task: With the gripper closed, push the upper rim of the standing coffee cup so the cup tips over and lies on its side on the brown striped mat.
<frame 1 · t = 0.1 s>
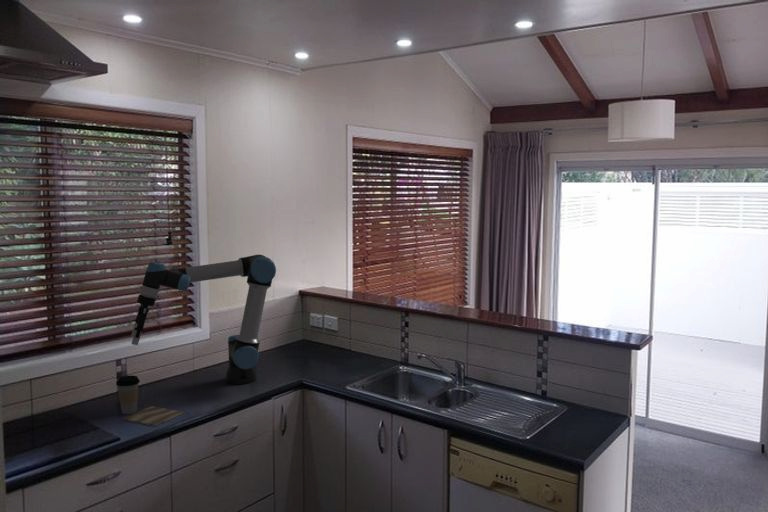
hand: (134, 340, 282), 28 cm above the worktop, tool tilted 20°, fingers open, 13 cm apart
coffee cup: (129, 412, 272), on the worktop
brown striped mat: (154, 416, 266), on the worktop
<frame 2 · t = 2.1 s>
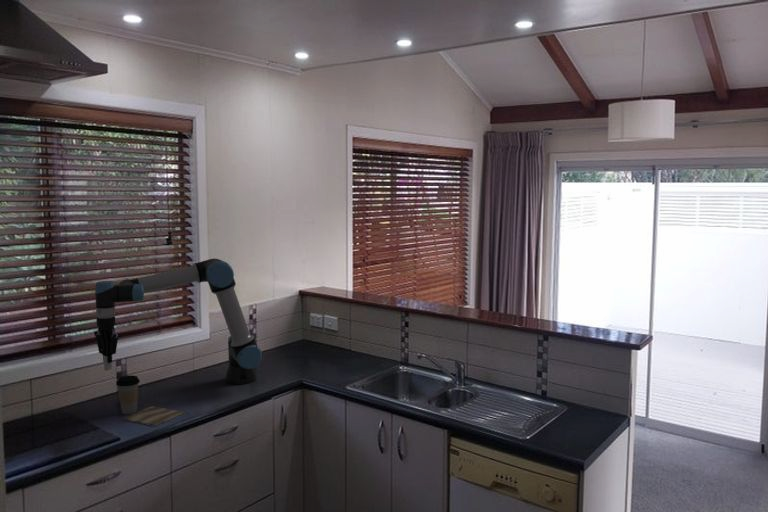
hand: (108, 369, 274), 17 cm above the worktop, tool pointing down, fingers closed
nothing on the worktop moved.
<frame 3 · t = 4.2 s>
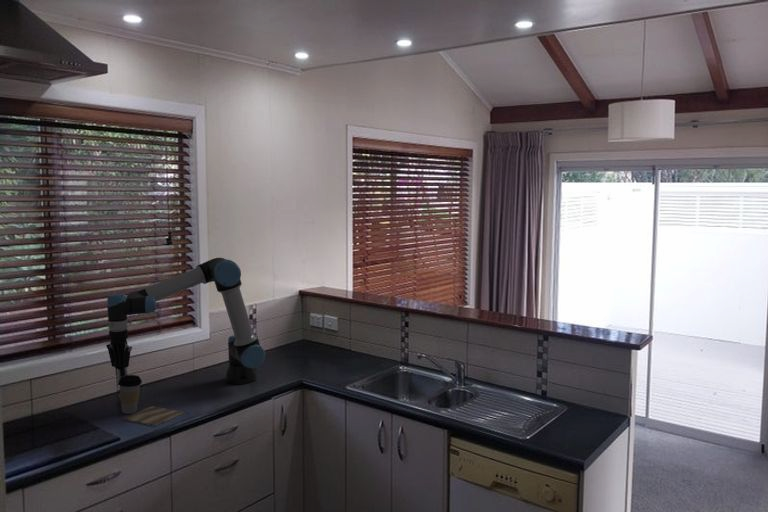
hand: (120, 382, 272), 12 cm above the worktop, tool pointing down, fingers closed
coffee cup: (129, 411, 272), on the worktop, touching gripper
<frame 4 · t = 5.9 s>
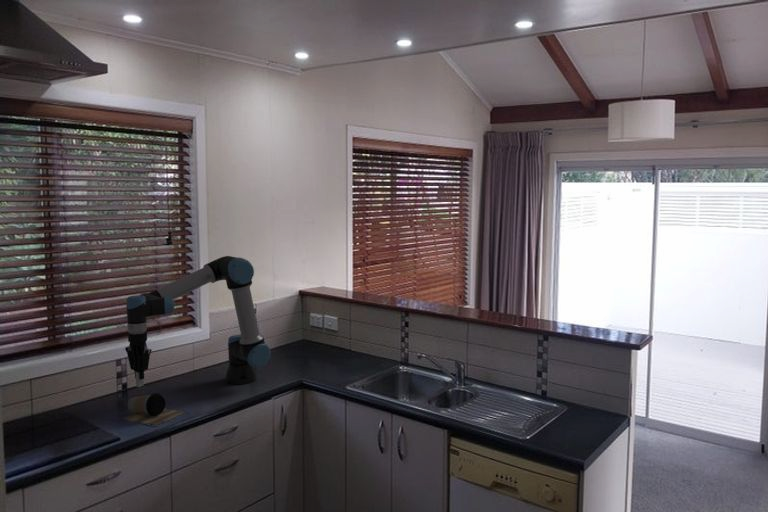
hand: (140, 386, 268), 12 cm above the worktop, tool pointing down, fingers closed
coffee cup: (132, 404, 270), point 4 cm above the worktop, touching brown striped mat
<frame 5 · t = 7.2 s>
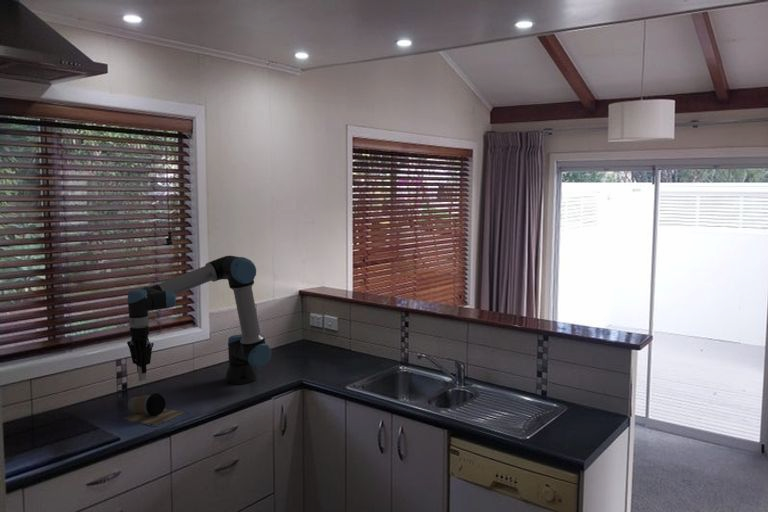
hand: (142, 380, 267), 15 cm above the worktop, tool pointing down, fingers closed
nothing on the worktop moved.
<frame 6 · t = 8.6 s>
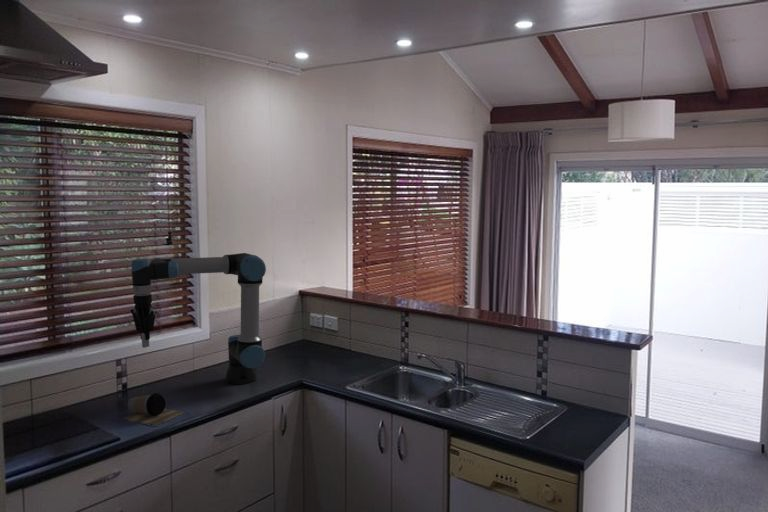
hand: (145, 346, 277), 27 cm above the worktop, tool pointing down, fingers closed
nothing on the worktop moved.
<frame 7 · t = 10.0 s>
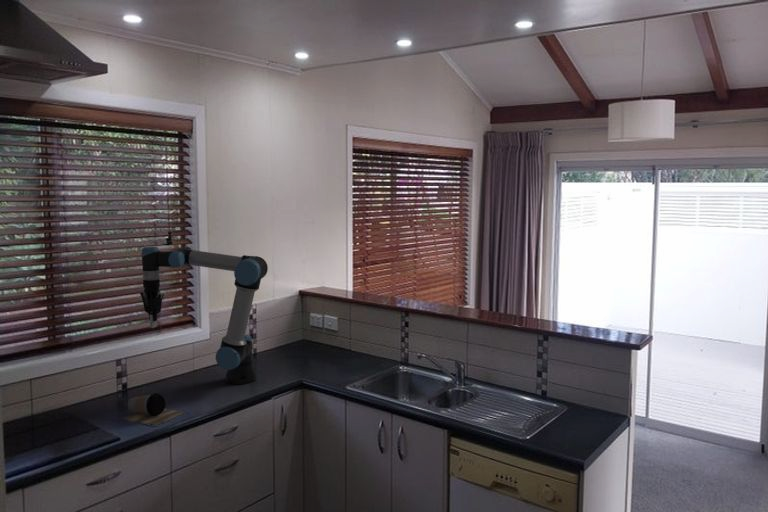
hand: (153, 327, 302), 29 cm above the worktop, tool pointing down, fingers closed
nothing on the worktop moved.
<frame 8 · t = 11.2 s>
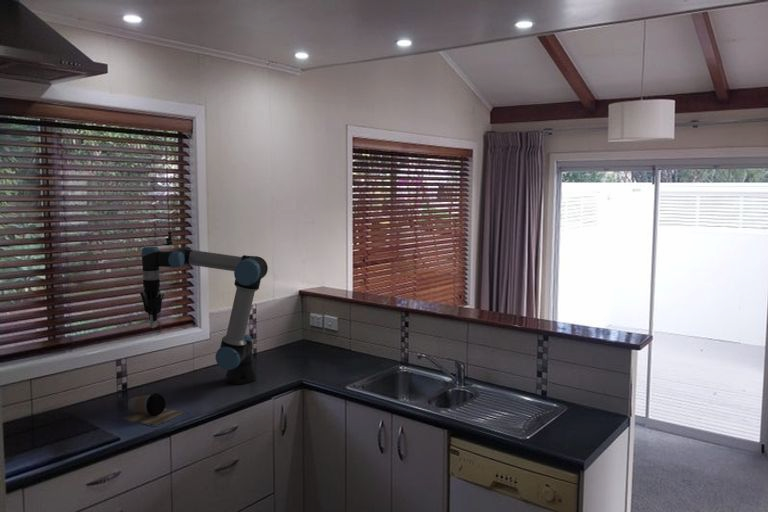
hand: (153, 327, 303), 29 cm above the worktop, tool pointing down, fingers closed
nothing on the worktop moved.
at the end: coffee cup tilted 82°; coffee cup touching brown striped mat; coffee cup inside the target area (6.6 cm from its centre), point 3.7 cm above the worktop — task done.
